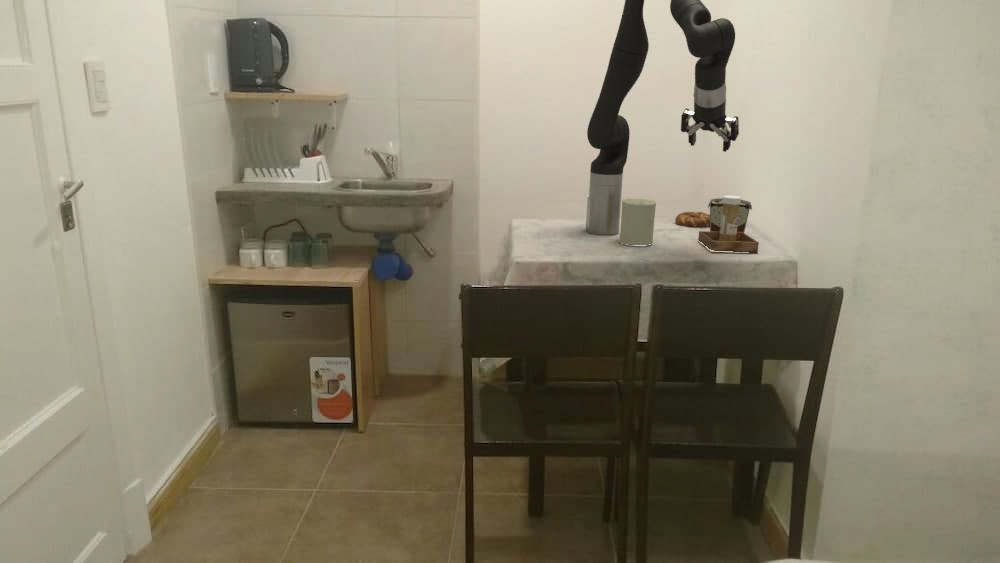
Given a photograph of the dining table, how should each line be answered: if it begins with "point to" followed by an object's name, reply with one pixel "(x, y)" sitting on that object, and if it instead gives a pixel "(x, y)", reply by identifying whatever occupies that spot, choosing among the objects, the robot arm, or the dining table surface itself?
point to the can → (637, 221)
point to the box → (740, 244)
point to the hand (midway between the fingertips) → (709, 146)
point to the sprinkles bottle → (729, 218)
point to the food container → (716, 214)
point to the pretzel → (693, 219)
